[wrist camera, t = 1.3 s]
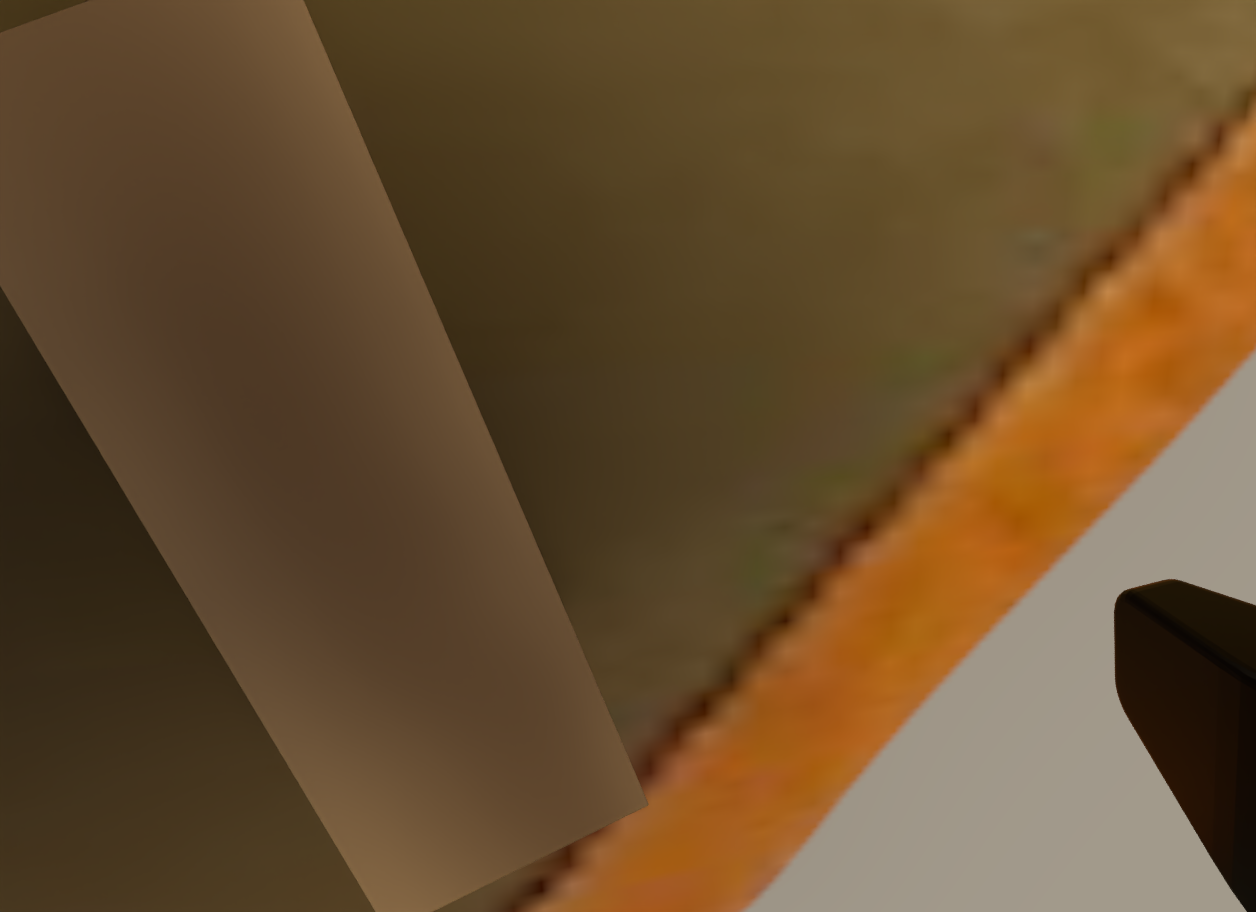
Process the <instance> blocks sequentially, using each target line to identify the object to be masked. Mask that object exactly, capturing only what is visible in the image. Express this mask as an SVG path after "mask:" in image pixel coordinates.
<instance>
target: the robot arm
mask: <svg viewBox="0 0 1256 912" xmlns="http://www.w3.org/2000/svg"><path fill="white" fill-rule="evenodd" d="M1114 637H1115V638H1114V639H1115V682H1116V689H1117V693H1118V697H1119V700H1120V702H1121V705H1122V707H1123V710H1124V712H1125V713H1126V715H1127V717H1128V718H1129V721H1130V722H1131V724H1132V726H1133V727H1134V729H1135V730H1136V732H1137V734H1138V736H1139V737H1140V739H1141V741H1142V742H1143V744H1144V746H1145V747H1146V749H1147V751H1148V753H1149V754H1150V756H1151V758H1152V759H1153V761H1154V762H1155V764H1156V766H1157V768H1158V769H1159V771H1160V773H1161V774H1162V776H1163V778H1164V779H1165V781H1166V783H1167V784H1168V786H1169V788H1170V789H1171V791H1172V793H1173V795H1174V796H1175V798H1176V799H1177V801H1178V803H1179V805H1180V806H1181V808H1182V810H1183V811H1184V813H1185V815H1186V816H1187V818H1188V820H1189V821H1190V823H1191V825H1192V826H1193V828H1194V830H1195V832H1196V833H1197V834H1198V836H1199V838H1200V840H1201V842H1202V843H1203V845H1204V847H1205V848H1206V850H1207V852H1208V853H1209V855H1210V857H1211V858H1212V860H1213V862H1214V863H1215V865H1216V866H1217V868H1218V869H1219V871H1220V873H1221V874H1222V876H1223V877H1224V879H1225V881H1226V882H1227V884H1228V885H1229V887H1230V889H1231V890H1232V892H1233V893H1234V894H1235V895H1236V897H1237V899H1238V900H1239V901H1240V903H1241V904H1242V905H1243V907H1244V908H1245V910H1246V911H1247V912H1256V605H1253V604H1250V603H1247V602H1244V601H1241V600H1238V599H1235V598H1232V597H1229V596H1226V595H1223V594H1220V593H1217V592H1214V591H1211V590H1208V589H1205V588H1202V587H1199V586H1195V585H1192V584H1189V583H1186V582H1183V581H1180V580H1175V579H1168V580H1162V581H1159V582H1154V583H1150V584H1147V585H1143V586H1139V587H1135V588H1131V589H1127V590H1125V591H1123V592H1122V593H1121V594H1120V595H1119V596H1118V598H1117V600H1116V603H1115V610H1114Z"/></svg>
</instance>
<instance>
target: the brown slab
mask: <svg viewBox="0 0 1256 912" xmlns="http://www.w3.org/2000/svg"><path fill="white" fill-rule="evenodd" d="M0 287H1V288H2V290H3V291H4V293H5V295H6V297H7V298H8V300H9V302H10V303H11V305H12V307H13V308H14V310H15V312H16V313H17V315H18V317H19V318H20V320H21V322H22V323H23V325H24V326H25V328H26V330H27V332H28V333H29V335H30V336H31V338H32V340H33V342H34V343H35V345H36V347H37V348H38V350H39V352H40V353H41V355H42V357H43V358H44V360H45V361H46V363H47V365H48V367H49V368H50V370H51V371H52V373H53V375H54V377H55V378H56V380H57V381H58V383H59V385H60V387H61V388H62V390H63V392H64V393H65V395H66V397H67V398H68V400H69V402H70V403H71V405H72V406H73V408H74V410H75V412H76V413H77V415H78V416H79V418H80V420H81V422H82V423H83V425H84V426H85V428H86V430H87V431H88V433H89V435H90V437H91V438H92V440H93V441H94V443H95V445H96V447H97V448H98V450H99V451H100V453H101V455H102V457H103V458H104V460H105V461H106V463H107V465H108V467H109V468H110V470H111V471H112V473H113V475H114V476H115V478H116V480H117V482H118V483H119V485H120V486H121V488H122V490H123V492H124V493H125V495H126V496H127V498H128V500H129V501H130V503H131V505H132V506H133V508H134V510H135V511H136V513H137V515H138V516H139V518H140V520H141V521H142V523H143V525H144V526H145V528H146V530H147V531H148V533H149V535H150V536H151V538H152V540H153V541H154V543H155V545H156V546H157V548H158V550H159V551H160V553H161V555H162V556H163V558H164V560H165V561H166V563H167V565H168V566H169V568H170V570H171V571H172V573H173V575H174V576H175V578H176V580H177V581H178V583H179V585H180V586H181V588H182V590H183V591H184V593H185V595H186V596H187V598H188V600H189V601H190V603H191V605H192V606H193V608H194V610H195V611H196V613H197V615H198V616H199V618H200V620H201V621H202V623H203V625H204V626H205V628H206V630H207V631H208V633H209V635H210V636H211V638H212V640H213V641H214V643H215V645H216V646H217V648H218V650H219V651H220V653H221V655H222V656H223V658H224V660H225V661H226V663H227V665H228V666H229V668H230V670H231V671H232V673H233V675H234V676H235V678H236V680H237V681H238V683H239V685H240V686H241V688H242V690H243V691H244V693H245V695H246V696H247V698H248V700H249V701H250V703H251V705H252V706H253V708H254V710H255V711H256V713H257V715H258V716H259V718H260V720H261V721H262V723H263V725H264V726H265V728H266V730H267V731H268V733H269V735H270V736H271V738H272V740H273V741H274V743H275V745H276V746H277V748H278V750H279V751H280V753H281V755H282V756H283V758H284V760H285V761H286V763H287V765H288V766H289V768H290V770H291V771H292V773H293V775H294V776H295V778H296V780H297V781H298V783H299V785H300V786H301V788H302V790H303V791H304V793H305V795H306V796H307V798H308V800H309V801H310V803H311V805H312V806H313V808H314V810H315V811H316V813H317V815H318V816H319V818H320V820H321V821H322V823H323V825H324V826H325V828H326V830H327V831H328V833H329V835H330V836H331V838H332V840H333V841H334V843H335V845H336V846H337V848H338V850H339V851H340V853H341V855H342V856H343V858H344V860H345V861H346V863H347V865H348V866H349V868H350V870H351V871H352V873H353V875H354V876H355V878H356V880H357V881H358V883H359V885H360V886H361V888H362V890H363V891H364V893H365V895H366V896H367V898H368V900H369V901H370V903H371V905H372V906H373V908H374V910H375V911H376V912H433V911H435V910H437V909H439V908H441V907H443V906H445V905H447V904H449V903H451V902H453V901H455V900H457V899H459V898H461V897H463V896H465V895H467V894H469V893H472V892H474V891H476V890H478V889H480V888H482V887H484V886H486V885H488V884H490V883H492V882H494V881H496V880H498V879H500V878H502V877H504V876H506V875H508V874H510V873H512V872H514V871H516V870H518V869H520V868H522V867H524V866H526V865H528V864H530V863H532V862H534V861H536V860H538V859H540V858H542V857H544V856H546V855H548V854H550V853H552V852H555V851H557V850H559V849H561V848H563V847H565V846H567V845H569V844H571V843H573V842H575V841H577V840H579V839H581V838H583V837H585V836H587V835H589V834H591V833H593V832H595V831H597V830H599V829H601V828H603V827H605V826H607V825H609V824H611V823H613V822H615V821H617V820H619V819H621V818H623V817H625V816H627V815H629V814H631V813H633V812H635V811H638V810H640V809H642V808H644V807H646V806H648V805H649V804H648V802H647V800H646V797H645V795H644V793H643V790H642V788H641V786H640V783H639V781H638V779H637V776H636V774H635V772H634V769H633V767H632V765H631V762H630V760H629V758H628V755H627V753H626V751H625V748H624V746H623V744H622V741H621V739H620V737H619V734H618V732H617V730H616V727H615V725H614V723H613V720H612V718H611V716H610V713H609V711H608V709H607V706H606V704H605V702H604V699H603V697H602V695H601V692H600V690H599V688H598V685H597V683H596V681H595V678H594V676H593V674H592V671H591V669H590V667H589V664H588V662H587V660H586V657H585V655H584V653H583V650H582V648H581V646H580V643H579V641H578V639H577V636H576V634H575V632H574V629H573V627H572V625H571V622H570V620H569V618H568V615H567V613H566V611H565V608H564V606H563V604H562V601H561V599H560V597H559V594H558V592H557V590H556V587H555V585H554V583H553V580H552V578H551V576H550V573H549V571H548V569H547V567H546V564H545V562H544V560H543V557H542V555H541V553H540V550H539V548H538V546H537V543H536V541H535V539H534V536H533V534H532V532H531V529H530V527H529V525H528V522H527V520H526V518H525V515H524V513H523V511H522V508H521V506H520V504H519V501H518V499H517V497H516V494H515V492H514V490H513V487H512V485H511V483H510V480H509V478H508V476H507V473H506V471H505V469H504V466H503V464H502V462H501V459H500V457H499V455H498V452H497V450H496V448H495V445H494V443H493V441H492V438H491V436H490V434H489V431H488V429H487V427H486V424H485V422H484V420H483V417H482V415H481V413H480V410H479V408H478V406H477V403H476V401H475V399H474V396H473V394H472V392H471V389H470V387H469V385H468V382H467V380H466V378H465V375H464V373H463V371H462V368H461V366H460V364H459V361H458V359H457V357H456V354H455V352H454V350H453V347H452V345H451V343H450V340H449V338H448V336H447V333H446V331H445V329H444V326H443V324H442V322H441V319H440V317H439V315H438V312H437V310H436V308H435V305H434V303H433V301H432V298H431V296H430V294H429V291H428V289H427V287H426V285H425V282H424V280H423V278H422V275H421V273H420V271H419V268H418V266H417V264H416V261H415V259H414V257H413V254H412V252H411V250H410V247H409V245H408V243H407V240H406V238H405V236H404V233H403V231H402V229H401V226H400V224H399V222H398V219H397V217H396V215H395V212H394V210H393V208H392V205H391V203H390V201H389V198H388V196H387V194H386V191H385V189H384V187H383V184H382V182H381V180H380V177H379V175H378V173H377V170H376V168H375V166H374V163H373V161H372V159H371V156H370V154H369V152H368V149H367V147H366V145H365V142H364V140H363V138H362V135H361V133H360V131H359V128H358V126H357V124H356V121H355V119H354V117H353V114H352V112H351V110H350V107H349V105H348V103H347V100H346V98H345V96H344V93H343V91H342V89H341V86H340V84H339V82H338V79H337V77H336V75H335V72H334V70H333V68H332V65H331V63H330V61H329V58H328V56H327V54H326V51H325V49H324V47H323V44H322V42H321V40H320V37H319V35H318V33H317V30H316V28H315V26H314V23H313V21H312V19H311V16H310V14H309V12H308V9H307V7H306V5H305V3H304V0H89V1H86V2H83V3H81V4H78V5H75V6H72V7H70V8H67V9H64V10H61V11H59V12H56V13H53V14H50V15H47V16H45V17H42V18H39V19H36V20H34V21H31V22H28V23H25V24H23V25H20V26H17V27H14V28H12V29H9V30H6V31H3V32H1V33H0Z"/></svg>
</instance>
